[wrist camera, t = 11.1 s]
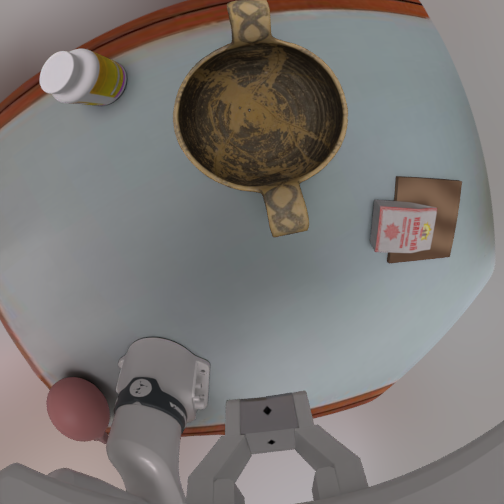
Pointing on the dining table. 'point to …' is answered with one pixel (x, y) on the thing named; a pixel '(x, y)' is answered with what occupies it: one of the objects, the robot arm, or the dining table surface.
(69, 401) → the balloon
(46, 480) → the robot arm
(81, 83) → the supplement bottle
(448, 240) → the walnut board
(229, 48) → the ceramic bowl
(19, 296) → the dining table surface
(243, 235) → the dining table surface
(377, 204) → the white red-printed box
